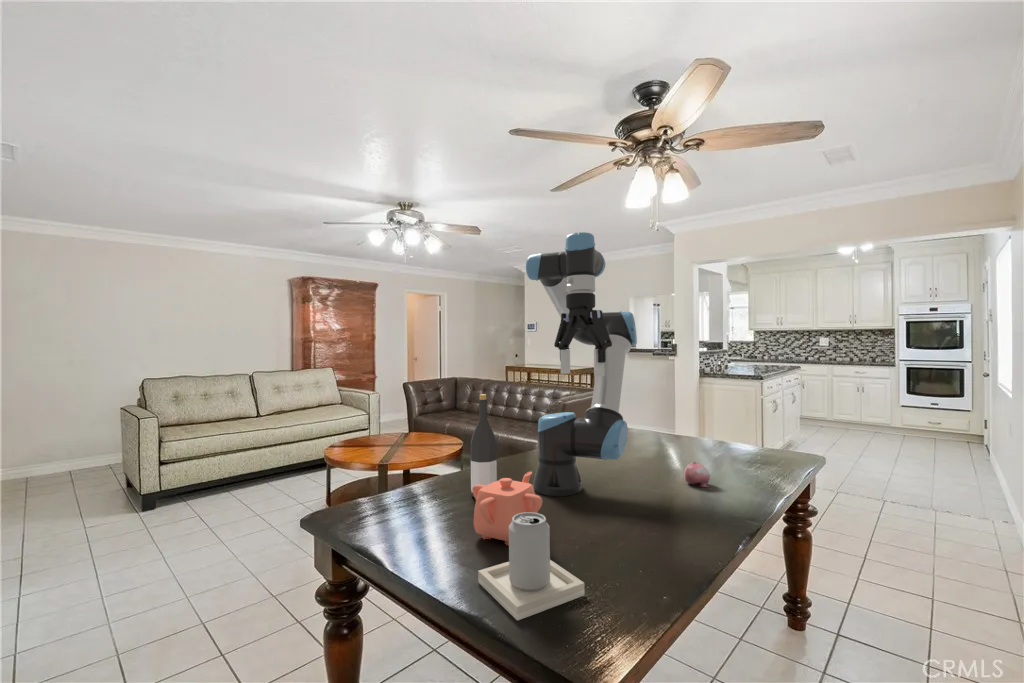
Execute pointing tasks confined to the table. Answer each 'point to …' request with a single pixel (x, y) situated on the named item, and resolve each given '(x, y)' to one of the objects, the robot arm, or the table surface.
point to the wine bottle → (483, 450)
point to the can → (529, 551)
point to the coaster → (530, 603)
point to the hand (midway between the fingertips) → (581, 374)
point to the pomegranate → (697, 475)
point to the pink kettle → (502, 505)
